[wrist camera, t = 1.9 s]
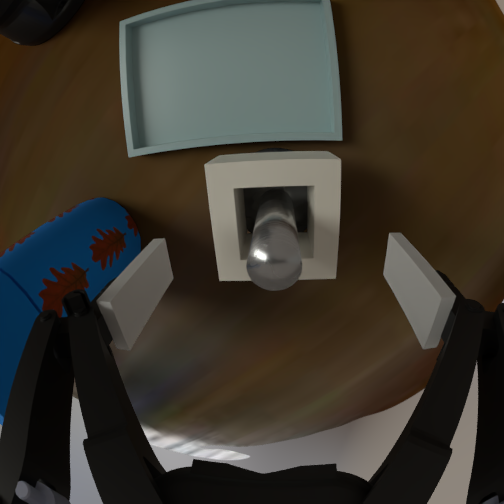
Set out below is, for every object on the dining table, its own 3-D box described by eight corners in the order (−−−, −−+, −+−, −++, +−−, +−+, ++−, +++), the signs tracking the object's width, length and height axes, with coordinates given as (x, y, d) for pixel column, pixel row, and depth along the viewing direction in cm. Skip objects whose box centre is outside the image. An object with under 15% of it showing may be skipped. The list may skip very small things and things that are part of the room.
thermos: (118, 181, 28) (-74, 313, 6) (157, 263, 32) (39, 447, 10) (62, 215, 31) (-79, 327, 8) (97, 282, 35) (-8, 420, 12)
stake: (227, 150, 26) (173, 184, 13) (320, 146, 25) (368, 177, 12) (235, 235, 30) (201, 332, 17) (320, 233, 29) (351, 330, 16)
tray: (128, 25, 20) (119, 21, 18) (325, -1, 18) (328, -9, 16) (137, 154, 27) (128, 157, 25) (337, 139, 24) (342, 140, 23)
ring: (219, 155, 22) (204, 164, 18) (327, 151, 21) (340, 159, 17) (231, 270, 27) (222, 301, 23) (325, 268, 26) (333, 299, 22)
